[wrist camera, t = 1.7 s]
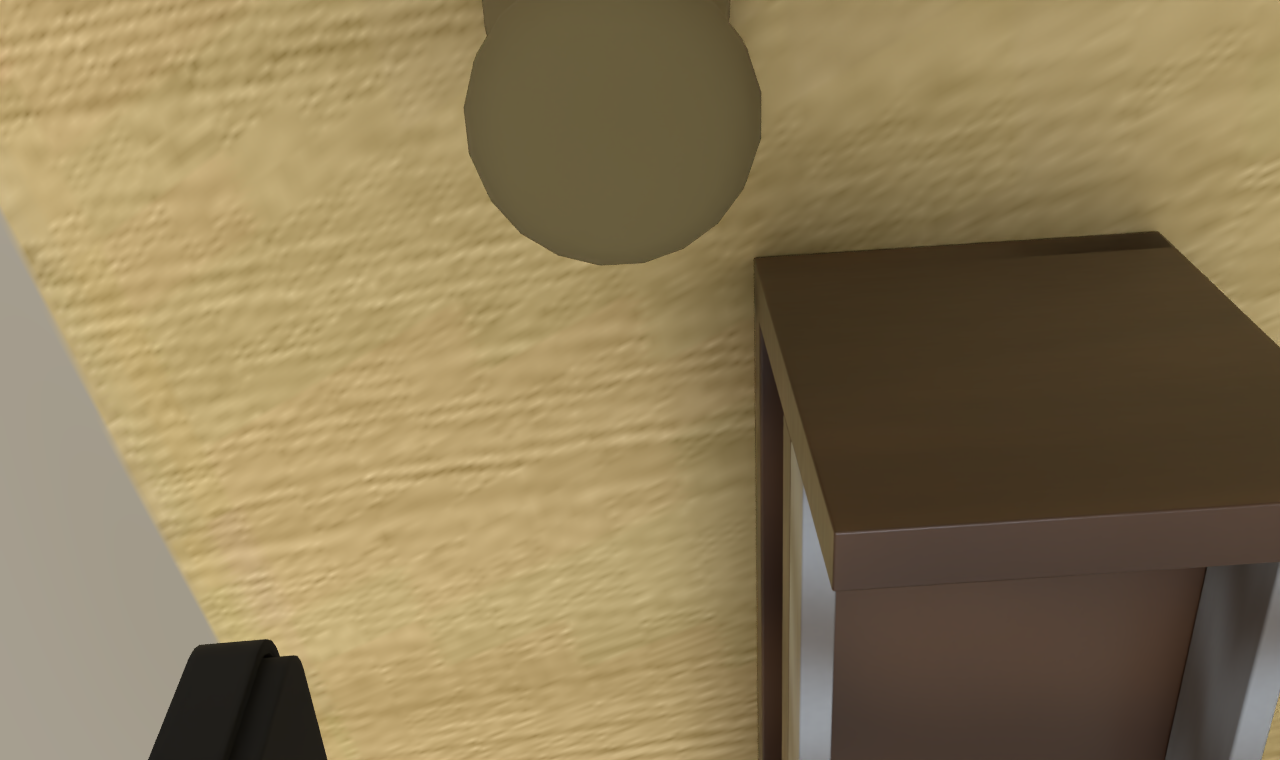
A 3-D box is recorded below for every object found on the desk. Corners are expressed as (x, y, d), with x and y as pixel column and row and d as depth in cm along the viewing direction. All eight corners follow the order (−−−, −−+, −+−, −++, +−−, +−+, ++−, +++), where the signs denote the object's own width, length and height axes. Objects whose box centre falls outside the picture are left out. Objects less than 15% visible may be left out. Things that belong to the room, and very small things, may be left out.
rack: (753, 257, 33) (833, 532, 22) (1159, 230, 33) (1433, 493, 22) (758, 821, 44) (813, 1190, 33) (1064, 800, 44) (1218, 1161, 33)
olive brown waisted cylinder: (474, 109, 31) (423, 300, 21) (488, -149, 28) (436, -63, 18) (711, 133, 31) (766, 331, 22) (749, -118, 28) (831, -17, 19)
